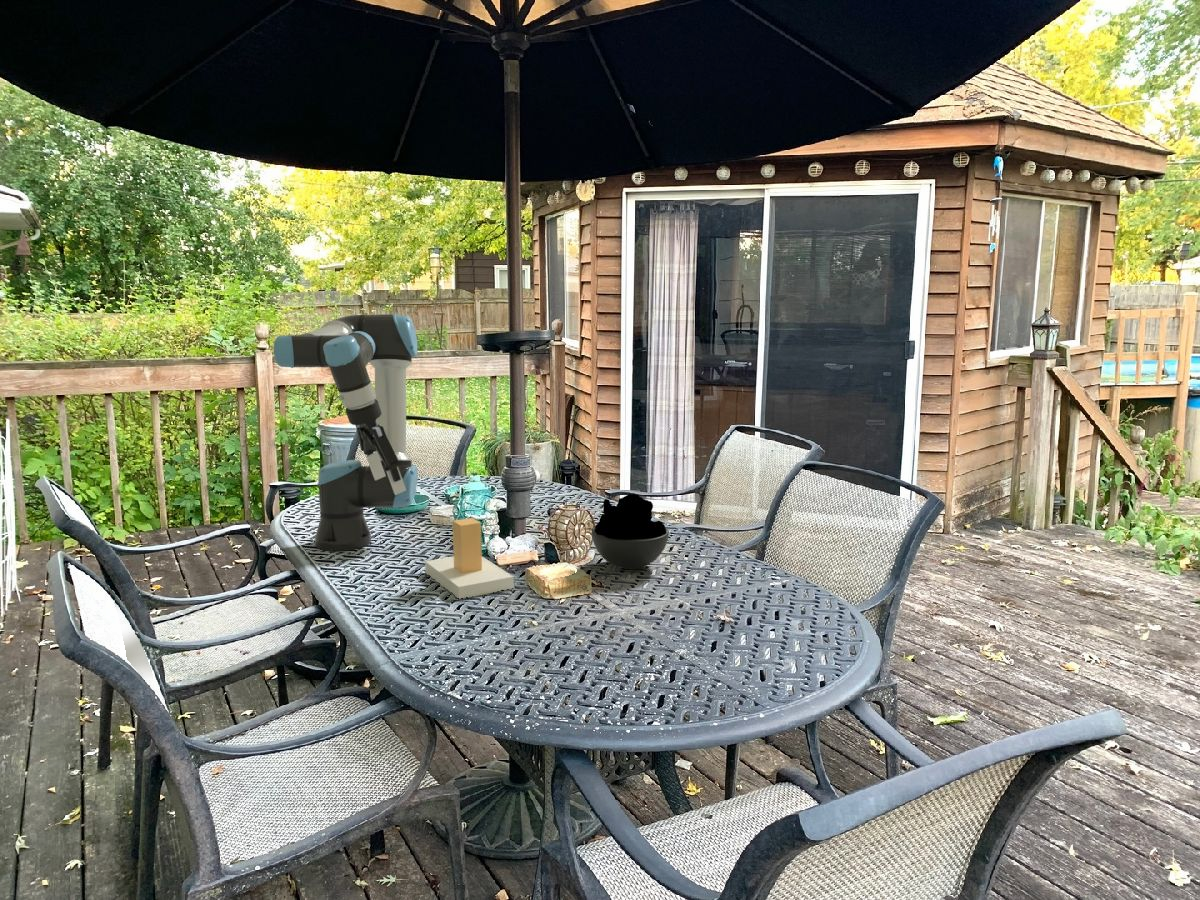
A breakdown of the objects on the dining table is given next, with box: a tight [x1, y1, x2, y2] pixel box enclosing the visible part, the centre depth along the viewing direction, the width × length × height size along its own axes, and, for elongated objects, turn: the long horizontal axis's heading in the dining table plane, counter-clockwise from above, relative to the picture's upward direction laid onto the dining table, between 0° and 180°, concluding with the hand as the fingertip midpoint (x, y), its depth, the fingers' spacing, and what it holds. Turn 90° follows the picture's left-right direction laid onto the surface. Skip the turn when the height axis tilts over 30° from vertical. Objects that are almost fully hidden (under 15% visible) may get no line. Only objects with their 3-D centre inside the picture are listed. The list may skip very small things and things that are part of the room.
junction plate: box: [424, 556, 515, 600], centre depth 203 cm, size 22×14×8 cm, turn 32°
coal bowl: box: [591, 493, 670, 570], centre depth 213 cm, size 20×20×19 cm
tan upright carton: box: [452, 517, 483, 573], centre depth 202 cm, size 5×5×12 cm
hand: (390, 485), depth 197 cm, fingers open, 13 cm apart
